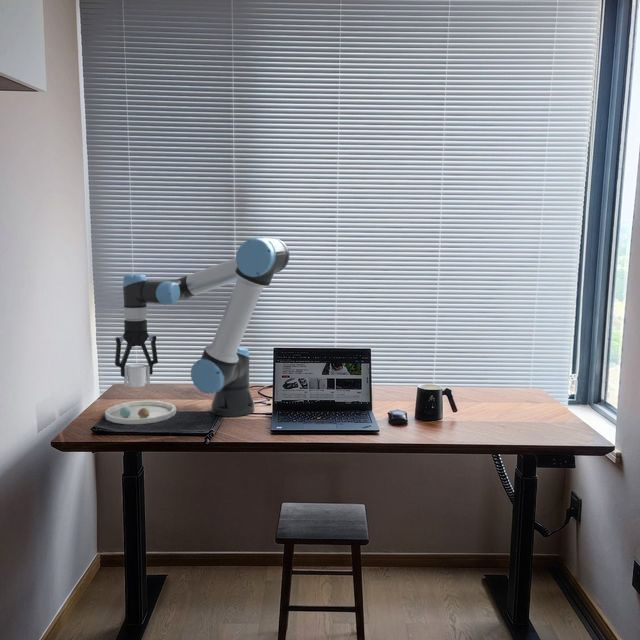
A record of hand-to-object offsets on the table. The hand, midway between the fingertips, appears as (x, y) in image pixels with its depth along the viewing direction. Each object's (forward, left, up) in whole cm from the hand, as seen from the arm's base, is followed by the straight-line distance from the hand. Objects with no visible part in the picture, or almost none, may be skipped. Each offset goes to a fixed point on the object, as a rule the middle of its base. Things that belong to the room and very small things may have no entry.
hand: (137, 384), depth 221 cm
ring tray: (0, +6, -10) cm, 12 cm away
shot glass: (0, 0, -1) cm, 1 cm away
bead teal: (+5, +8, -9) cm, 13 cm away
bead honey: (0, +12, -9) cm, 15 cm away
